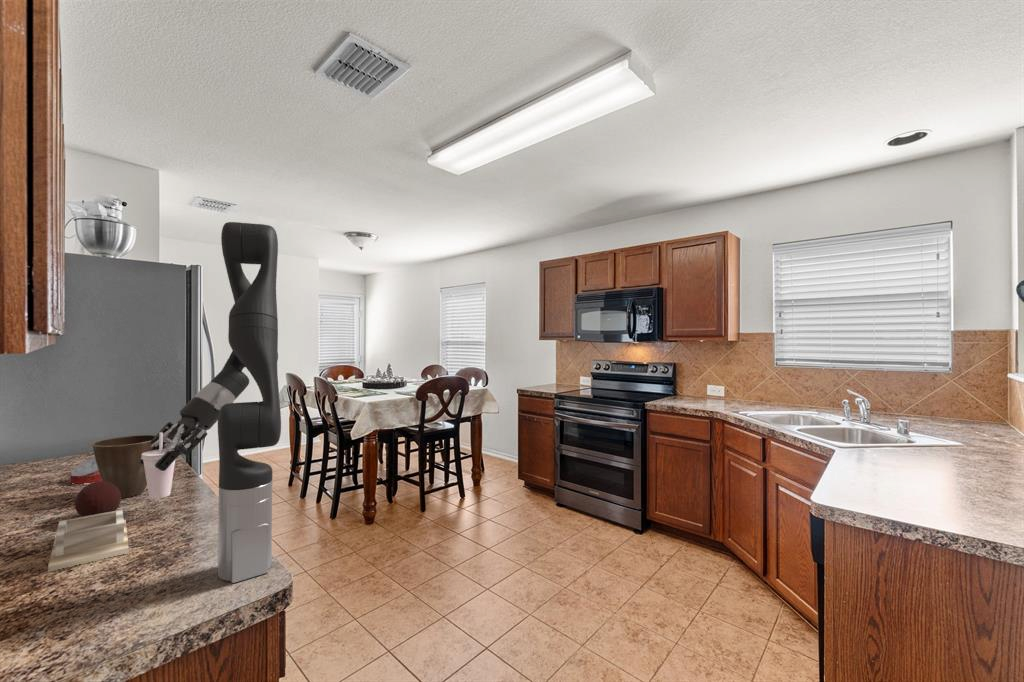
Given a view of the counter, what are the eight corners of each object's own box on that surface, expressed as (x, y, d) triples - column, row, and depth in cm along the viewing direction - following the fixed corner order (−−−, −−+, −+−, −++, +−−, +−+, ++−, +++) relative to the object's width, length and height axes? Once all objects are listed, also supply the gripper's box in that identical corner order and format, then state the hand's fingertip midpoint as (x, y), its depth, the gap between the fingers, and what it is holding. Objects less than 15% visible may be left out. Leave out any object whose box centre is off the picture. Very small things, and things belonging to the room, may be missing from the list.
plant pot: (80, 506, 123) (80, 447, 123) (108, 489, 137) (109, 436, 137) (146, 500, 128) (146, 443, 128) (167, 484, 142) (167, 433, 142)
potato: (72, 530, 108) (73, 491, 108) (76, 515, 117) (76, 479, 117) (120, 520, 113) (121, 483, 113) (120, 507, 122) (121, 473, 122)
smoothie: (148, 502, 95) (148, 436, 95) (135, 497, 99) (136, 433, 99) (183, 494, 101) (183, 431, 101) (170, 489, 104) (170, 428, 104)
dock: (128, 553, 96) (128, 528, 96) (48, 572, 88) (48, 545, 88) (125, 524, 111) (125, 503, 111) (56, 538, 103) (56, 515, 103)
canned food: (107, 494, 146) (109, 470, 143) (65, 497, 140) (65, 472, 137) (115, 470, 154) (117, 447, 151) (75, 472, 149) (76, 448, 145)
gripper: (180, 394, 110) (119, 453, 99) (214, 397, 103) (153, 461, 92) (203, 412, 114) (148, 471, 104) (237, 417, 108) (182, 480, 97)
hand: (151, 466), depth 98 cm, fingers closed on smoothie, 6 cm apart
